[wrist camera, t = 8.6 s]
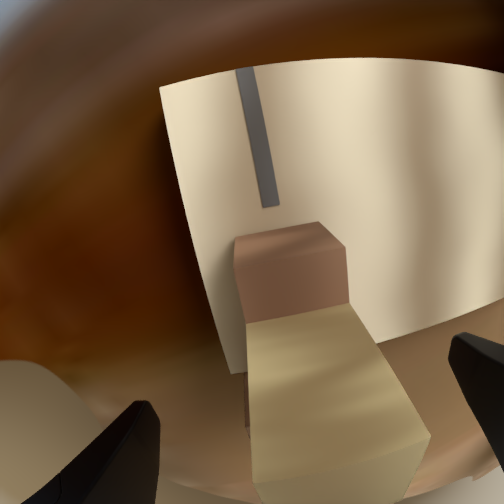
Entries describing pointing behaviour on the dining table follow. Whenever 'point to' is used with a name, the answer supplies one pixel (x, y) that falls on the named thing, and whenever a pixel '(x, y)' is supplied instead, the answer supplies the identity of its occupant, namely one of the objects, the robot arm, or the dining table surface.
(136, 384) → the dining table surface
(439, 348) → the dining table surface
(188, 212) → the board
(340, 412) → the stacked cube assembly
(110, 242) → the dining table surface
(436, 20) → the dining table surface
